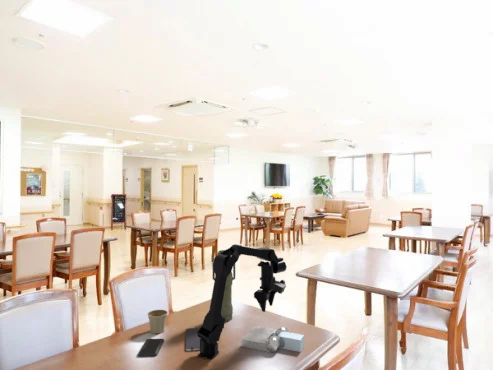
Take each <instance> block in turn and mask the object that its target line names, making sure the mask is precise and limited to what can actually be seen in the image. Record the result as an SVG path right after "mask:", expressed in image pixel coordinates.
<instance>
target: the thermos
mask: <svg viewBox="0 0 493 370" xmlns="http://www.w3.org/2000/svg"><path fill="white" fill-rule="evenodd" d="M225 250H226V249H221V250H219V251H217V255H219V254H220V253H222V252H223V251H225ZM217 255H216V256H217ZM230 257H231V256H230ZM212 280H213V281H215V272H214V261H213V262H212ZM234 280H236V263H235V264H234V265H233V268H232V271H231V273H230V274H229V275H228V277H227V280H226V286H225V292H224V298H223V304H222V310H221V315H222V317H224V318H225V322H224V323H226V322H229V321H232V320H233V313H234V312H233V311H234V309H233V304H232V302H233V301H232V297H233V295H232V294H233V292H232V290H233V289H232V286H233V281H234Z"/></svg>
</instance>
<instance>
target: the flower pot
mask: <svg viewBox="0 0 493 370" xmlns="http://www.w3.org/2000/svg"><path fill="white" fill-rule="evenodd" d="M168 313H169V312H168V311H167V310H166V309H154V310H151V311H149V312H147V314H146V315H147V318H148V321H149V328H150V329H149V330H150V333H151V334H162V333H164V331H165V327H166V326H165V325H166V319H167V315H168Z"/></svg>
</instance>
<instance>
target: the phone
mask: <svg viewBox="0 0 493 370" xmlns="http://www.w3.org/2000/svg"><path fill="white" fill-rule="evenodd" d="M164 342H165V338H148V339H146V340H145V341H144V343H143V345H142V346H141V348H140V349H139V351H138V353H137V357H138V358H149V357H150V358H152V357H154V358H155V357H158V355H159V353H160V350H161V349H162V346H163V344H164Z"/></svg>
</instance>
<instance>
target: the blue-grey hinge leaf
mask: <svg viewBox="0 0 493 370" xmlns="http://www.w3.org/2000/svg"><path fill="white" fill-rule="evenodd" d="M277 337H278V338H279V339H280V346H279V347H278V349H281V350H282V349H284V350H287V351H293V352H299V353H301V352H302V350H303V349H304V348H305V335H304V334H301V333H295V332H281V333H280V334H279V335H278V336H277Z"/></svg>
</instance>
